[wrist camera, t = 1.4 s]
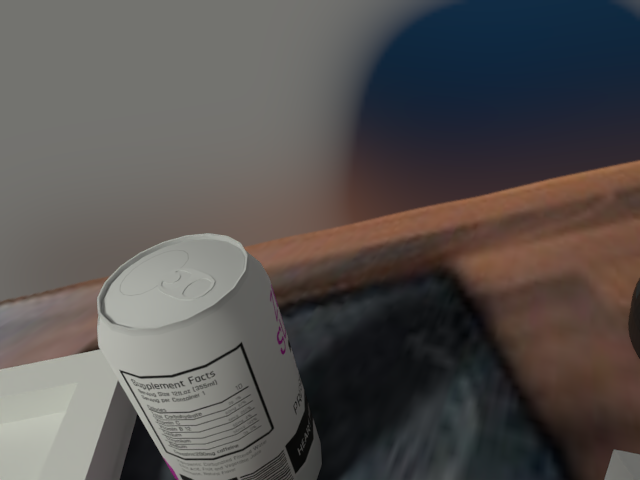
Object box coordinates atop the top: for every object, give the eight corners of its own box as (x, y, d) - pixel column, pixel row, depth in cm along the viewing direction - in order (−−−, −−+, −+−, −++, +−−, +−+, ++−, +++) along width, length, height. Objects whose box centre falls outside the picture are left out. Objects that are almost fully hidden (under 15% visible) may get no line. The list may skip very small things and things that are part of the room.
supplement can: (164, 494, 32) (48, 306, 24) (255, 398, 37) (184, 215, 29) (260, 571, 27) (155, 367, 19) (350, 448, 32) (296, 246, 24)
